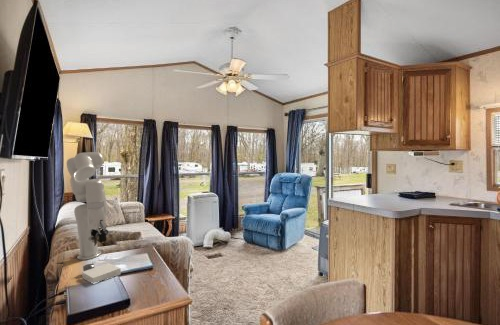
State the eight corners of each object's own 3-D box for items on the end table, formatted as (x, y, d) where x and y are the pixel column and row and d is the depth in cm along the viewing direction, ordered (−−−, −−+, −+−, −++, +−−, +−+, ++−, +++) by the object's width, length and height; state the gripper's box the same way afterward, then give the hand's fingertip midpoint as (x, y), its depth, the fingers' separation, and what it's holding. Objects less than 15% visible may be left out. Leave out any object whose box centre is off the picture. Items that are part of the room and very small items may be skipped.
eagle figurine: (106, 242, 144) (112, 234, 153) (96, 232, 142) (103, 224, 151) (94, 251, 144) (101, 242, 153) (83, 241, 143) (91, 232, 151)
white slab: (82, 277, 146) (82, 272, 146) (109, 268, 156) (108, 263, 156) (93, 284, 138) (93, 278, 138) (120, 274, 148) (120, 268, 148)
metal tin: (82, 273, 152) (81, 266, 152) (92, 270, 156) (91, 263, 155) (86, 276, 148) (85, 268, 148) (96, 272, 152) (95, 264, 152)
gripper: (80, 205, 148) (83, 239, 149) (95, 208, 137) (98, 245, 138) (96, 202, 154) (99, 235, 155) (111, 205, 143) (114, 240, 144)
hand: (98, 240), depth 146 cm, fingers closed on eagle figurine, 8 cm apart
